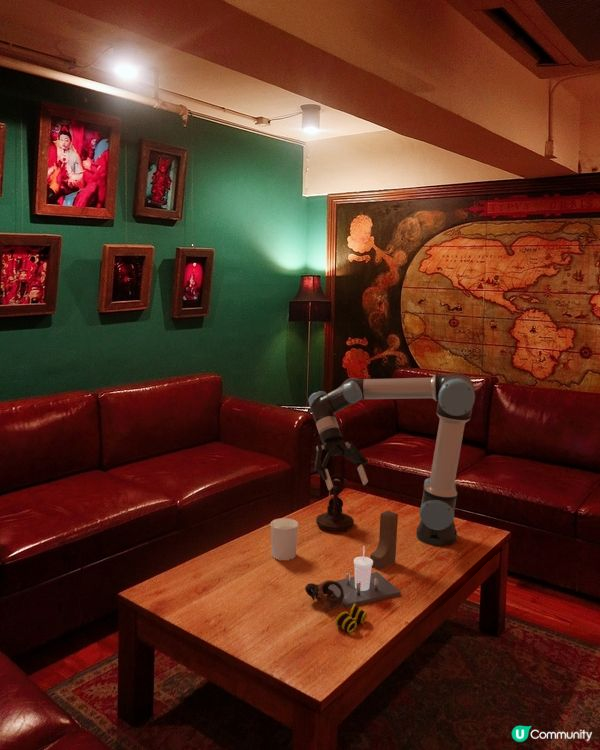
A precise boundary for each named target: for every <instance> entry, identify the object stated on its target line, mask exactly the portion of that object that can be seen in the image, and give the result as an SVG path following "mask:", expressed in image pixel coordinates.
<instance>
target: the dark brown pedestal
mask: <svg viewBox="0 0 600 750" xmlns="http://www.w3.org/2000/svg"><path fill="white" fill-rule="evenodd" d="M330 478H331V481H332V484H333V487H332V489H331V490H329V493H328V498H329V499H328V500H327V504H328V505H327V508H326V511H325V512H324V513H321V514H319V515H317V516H316V517H315V518H316V519H315V523H316V525H317V526H318V527H320V530H321V531H323V530H324V529H325V530H330V531H345V532H348V530H349V529H350V528H352V527H353V526H354V523H355V520H354V518H353V517H352V516H351V515H349V514H346V513H344V512H343V507H344V502H343V500H342V498H340V497H339V495H340V494H341V493H342V492H343V490H344V484H345V480H344V477H343V476H342V475H340V474H333V475H332V476H330ZM330 495H332V496H333V497H331V496H330ZM330 497H331V498H330Z"/></svg>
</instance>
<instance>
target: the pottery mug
mask: <svg viewBox="0 0 600 750" xmlns="http://www.w3.org/2000/svg"><path fill="white" fill-rule="evenodd" d="M336 581H337V580H330V579H329V580H324V581H322V582H320V583H319V584H316V583H307V585H305V587H304V590H305V592H306V594H307V595H308V596H309V597H310V598H311V599H312V601H315V599H317V598H319V599H320V600H321V602H323V603H324V605H323V606H322V610H323V611H325V612H327V611H329V610H330V609H331V610H332V609H334V608H337V607H338V606H340V605H341V602H342V601H343V598H344V592H343V588H342V586H341V585H340V584H339V583H338V582H336ZM333 584H334V585H336V586H337V587H338V588H339V589H340V592H341V595H340V596H339V597H338V598H336V599H335V598H330V599H329V600H328V597H327V596H329V597H333V596H332V594H333V592H334V591H333V590H330V589H329V588H328V587H329V586H330V585H333Z"/></svg>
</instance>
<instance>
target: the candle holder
mask: <svg viewBox="0 0 600 750" xmlns="http://www.w3.org/2000/svg"><path fill="white" fill-rule="evenodd" d="M298 531H299V522H298V521H297V520H295V519H293V518H288V517H287V518H286V517H284V518H282V517H281V518H276V519H272V521H271V522H270V541H271V542H270V543H271V556H272V558H273V557H274V558H273V559H275V558H276V559H275V560H277V559H278V560H277V561H281V560H288V561H291V560H294V558H296V556H297V555H296V554H297V544H298ZM290 559H291V560H290Z"/></svg>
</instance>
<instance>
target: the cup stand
mask: <svg viewBox="0 0 600 750" xmlns="http://www.w3.org/2000/svg"><path fill="white" fill-rule="evenodd" d="M345 575H346V576H345V577H346V578H342V579H336V580H335V581H336V582H338V583H339V584H340V585H341V586H342V588H343V592H344V598H343V601H342V602H341V604H340V605H341V606H342V607H343V608H344V609H348V608H352V607H353V605H354V604H356V606H359V605H365V604H368V603H374V602H377V601H382V600H385V599H391V598H394V597H397V596H401V595H402V593H401V591H400V589H398V588H397V587H396V586H395V585H394V584H392V583H391V582H390V581H389V580H387V579H386V578H385V577H384V576H382V575H381V574H380V573H379V572H377V571H374V572H371V577H370V586H369V589H368V590H366V591H360V587H361V582H359V581H358V582H357V589H356V588H355V576H351V572H350V571H348V572H346V574H345ZM328 588H329V589H330V590H333V591H334V592H333V594H332V596H331V597H333V599H336V598H338V597H339V596H340V595H341V592H340V589H339V588H338V587H337V586H336V585H334V584H333V585H330V586H329V587H328Z"/></svg>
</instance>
